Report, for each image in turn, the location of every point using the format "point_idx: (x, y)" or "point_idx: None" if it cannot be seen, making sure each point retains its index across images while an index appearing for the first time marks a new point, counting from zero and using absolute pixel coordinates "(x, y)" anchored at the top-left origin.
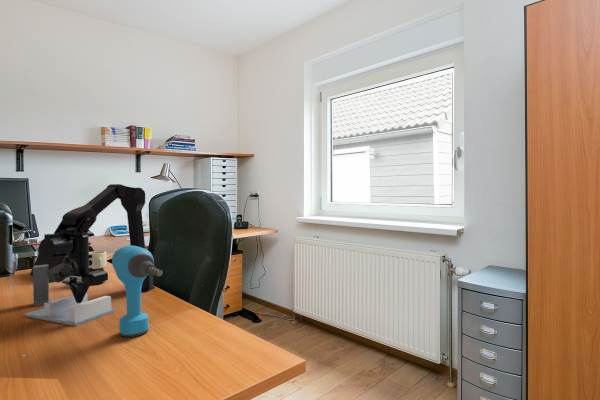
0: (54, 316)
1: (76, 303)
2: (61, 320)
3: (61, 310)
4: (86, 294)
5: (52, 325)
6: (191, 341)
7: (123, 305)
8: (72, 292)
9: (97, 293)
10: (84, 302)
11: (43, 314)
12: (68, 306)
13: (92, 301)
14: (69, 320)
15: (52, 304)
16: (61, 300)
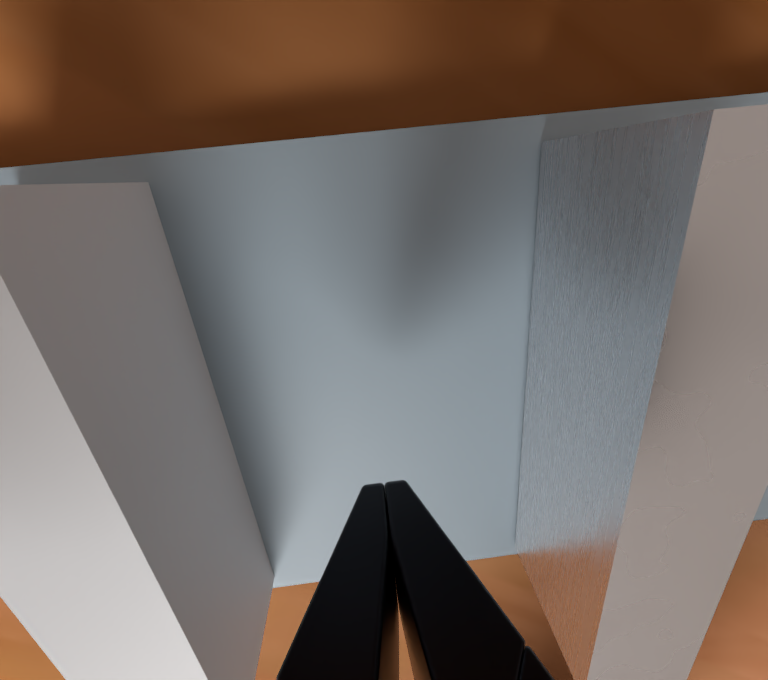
0: (521, 196)
1: (546, 499)
2: (265, 144)
3: (550, 312)
4: (574, 668)
5: (294, 28)
6: None
7: (281, 656)
8: (525, 663)
9: (722, 674)
10: (113, 521)
11: None
12: (553, 409)
13: (61, 598)
14: (126, 182)
15: (666, 179)
16: (653, 385)
